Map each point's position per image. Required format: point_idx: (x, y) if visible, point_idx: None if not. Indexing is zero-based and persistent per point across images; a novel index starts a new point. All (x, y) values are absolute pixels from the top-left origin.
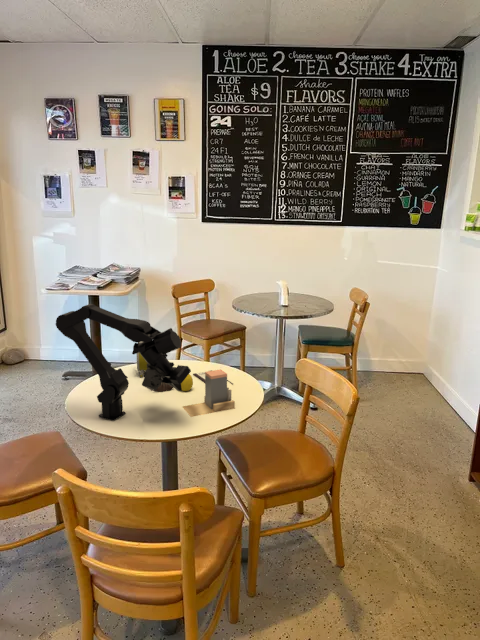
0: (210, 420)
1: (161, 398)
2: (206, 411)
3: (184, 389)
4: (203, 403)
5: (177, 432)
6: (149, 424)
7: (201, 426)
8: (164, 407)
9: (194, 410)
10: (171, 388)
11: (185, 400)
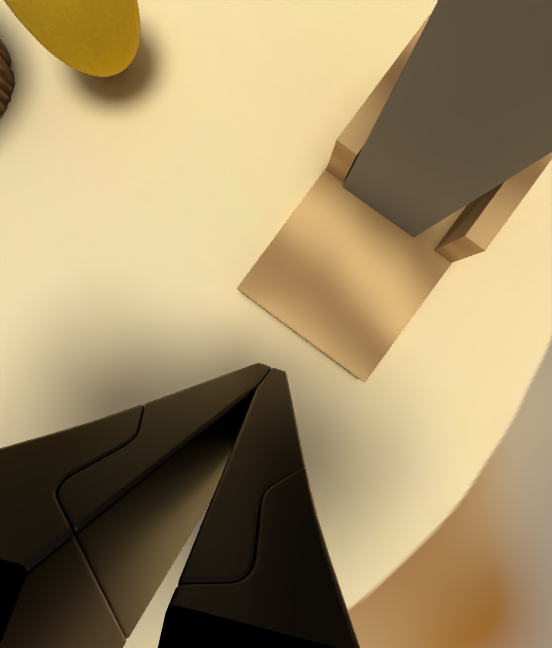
0: (454, 336)
1: (40, 219)
2: (404, 277)
3: (112, 69)
4: (328, 186)
5: (378, 538)
6: (195, 537)
7: (450, 420)
8: (135, 318)
9: (335, 299)
10: (6, 68)
11: (187, 174)
